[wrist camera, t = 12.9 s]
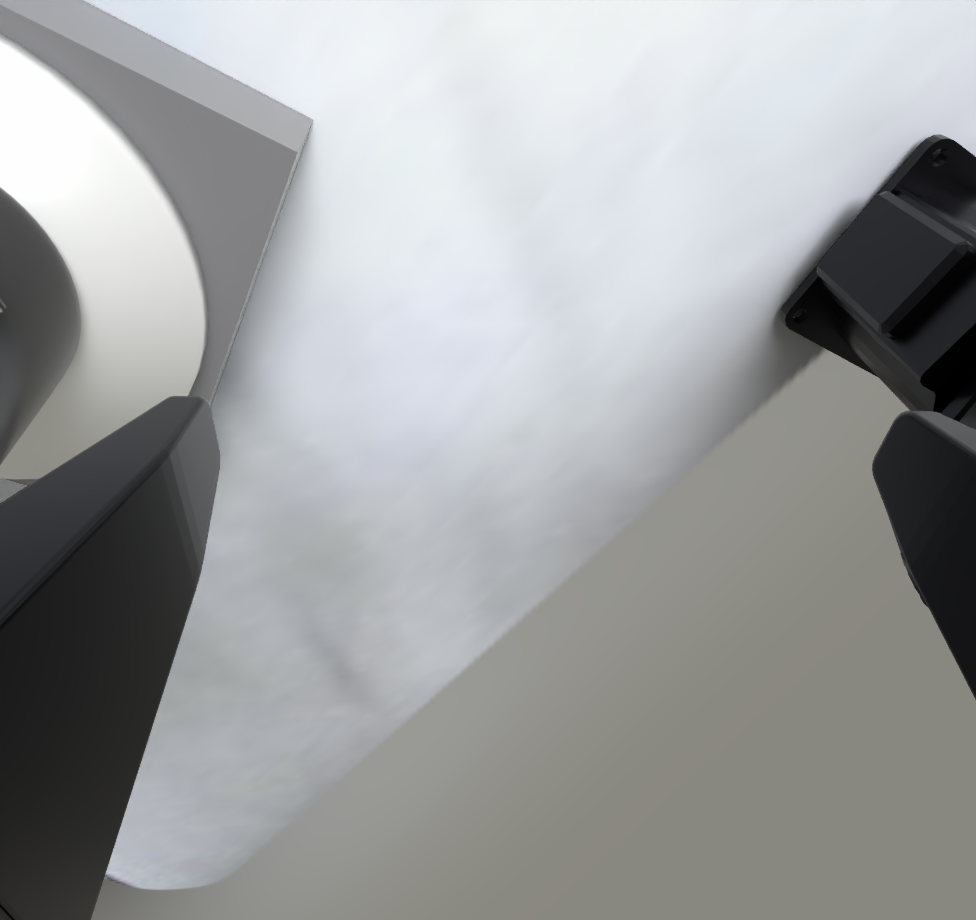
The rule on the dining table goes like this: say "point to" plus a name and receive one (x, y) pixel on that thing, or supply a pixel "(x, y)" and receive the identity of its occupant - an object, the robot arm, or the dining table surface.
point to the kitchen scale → (136, 209)
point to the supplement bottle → (31, 320)
